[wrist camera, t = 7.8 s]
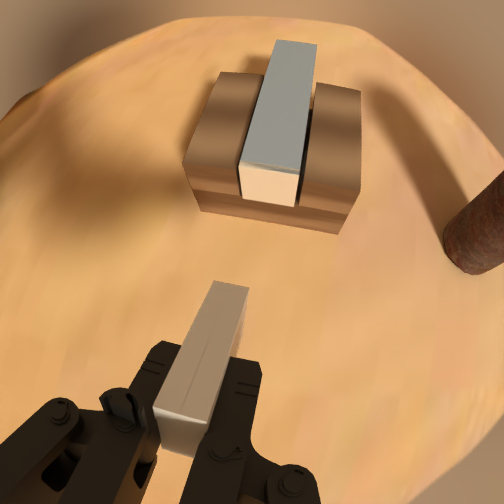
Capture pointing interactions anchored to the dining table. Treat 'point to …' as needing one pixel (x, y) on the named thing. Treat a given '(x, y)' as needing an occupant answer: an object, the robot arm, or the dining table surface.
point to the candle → (478, 231)
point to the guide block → (312, 164)
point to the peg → (279, 126)
